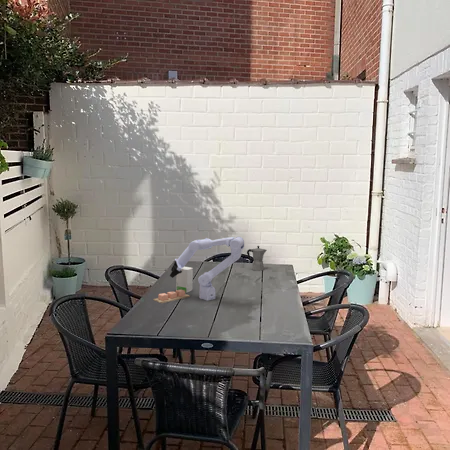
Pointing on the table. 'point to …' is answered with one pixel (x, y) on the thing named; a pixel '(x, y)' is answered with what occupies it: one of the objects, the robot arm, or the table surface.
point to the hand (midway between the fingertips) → (171, 273)
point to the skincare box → (184, 279)
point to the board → (171, 299)
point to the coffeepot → (257, 258)
